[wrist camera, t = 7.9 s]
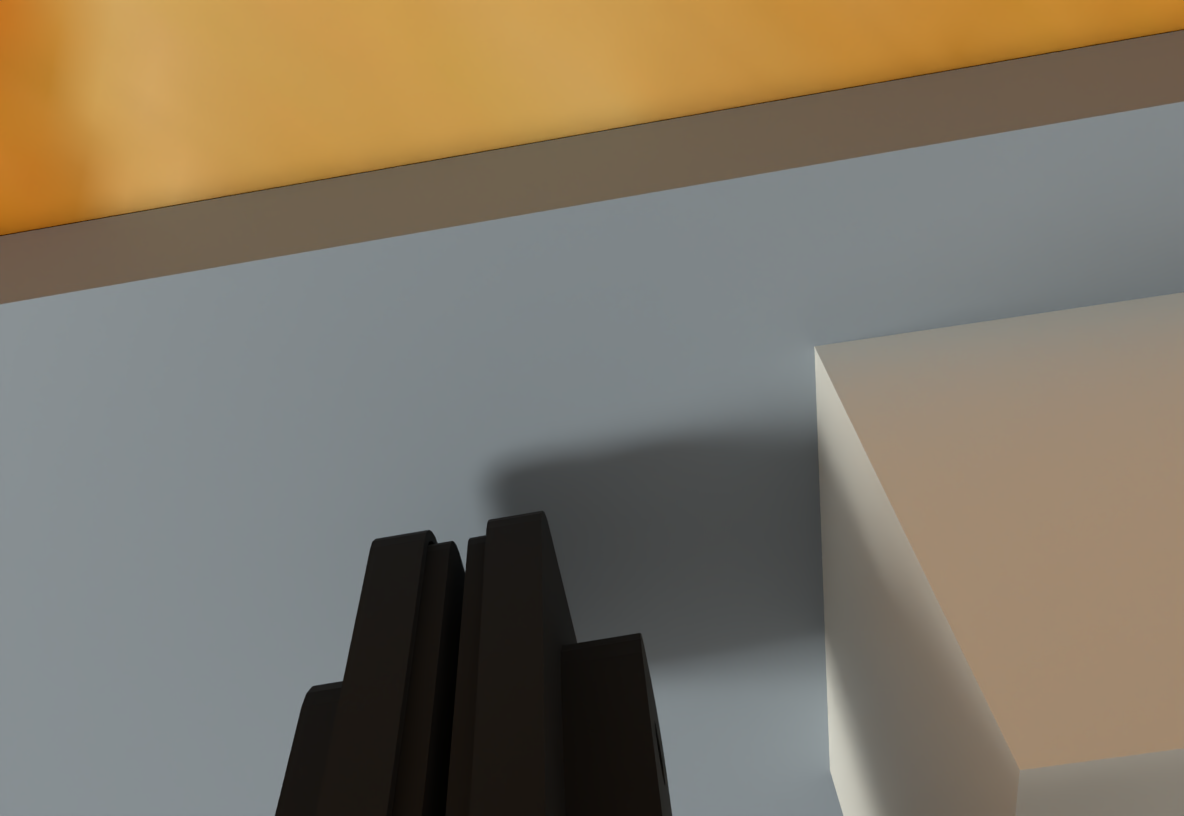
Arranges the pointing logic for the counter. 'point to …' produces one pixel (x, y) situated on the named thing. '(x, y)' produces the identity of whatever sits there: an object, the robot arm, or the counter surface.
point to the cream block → (1006, 564)
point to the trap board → (517, 406)
